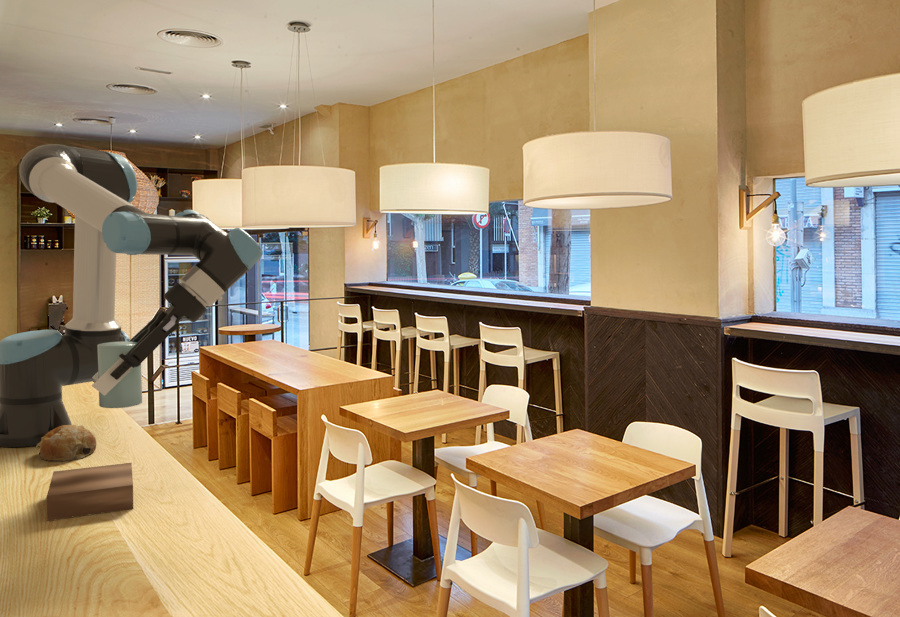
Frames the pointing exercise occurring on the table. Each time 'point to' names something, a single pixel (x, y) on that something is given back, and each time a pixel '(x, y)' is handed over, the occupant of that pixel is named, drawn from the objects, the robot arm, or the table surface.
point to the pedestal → (90, 491)
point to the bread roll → (66, 443)
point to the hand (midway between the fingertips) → (98, 386)
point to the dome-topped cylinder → (129, 386)
